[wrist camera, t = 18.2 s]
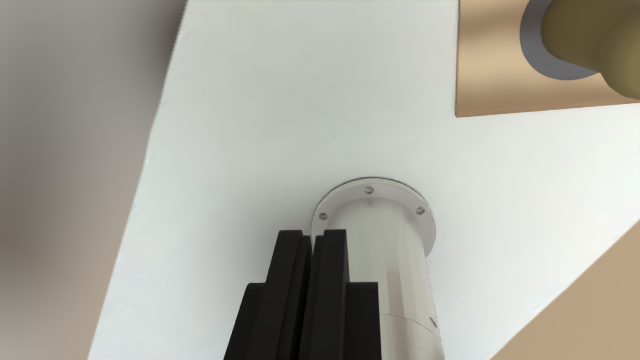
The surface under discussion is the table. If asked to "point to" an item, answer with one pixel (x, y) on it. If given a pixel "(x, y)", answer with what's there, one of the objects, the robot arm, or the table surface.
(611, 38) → the pepper shaker
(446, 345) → the table surface
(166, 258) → the table surface
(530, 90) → the wooden board
